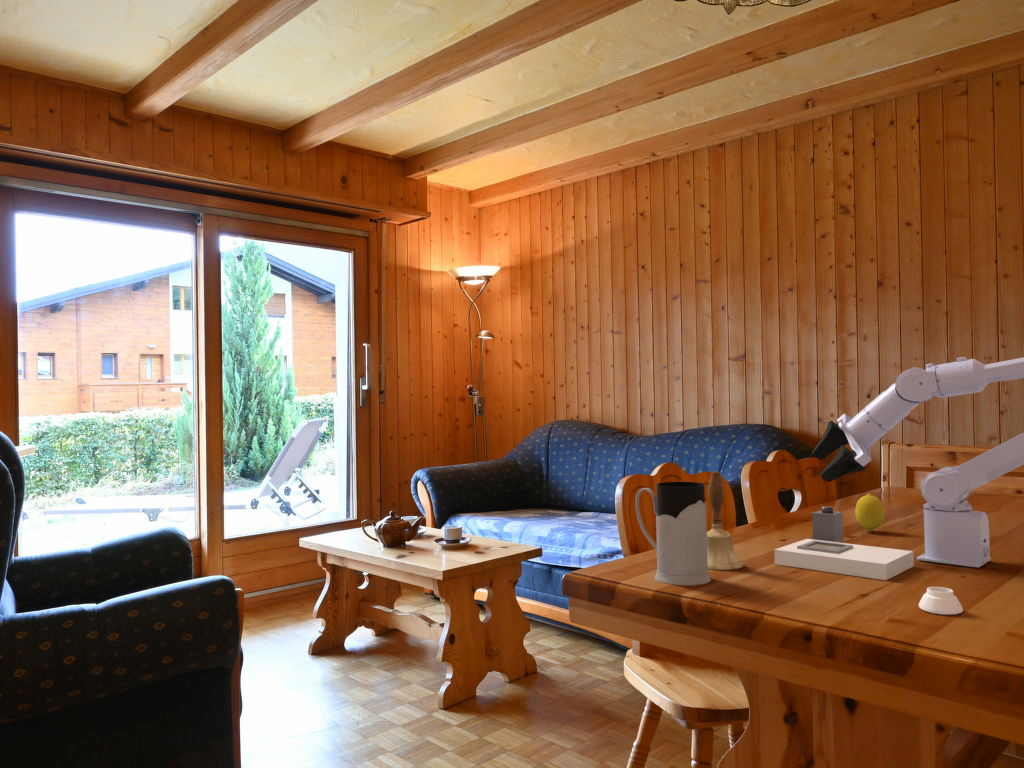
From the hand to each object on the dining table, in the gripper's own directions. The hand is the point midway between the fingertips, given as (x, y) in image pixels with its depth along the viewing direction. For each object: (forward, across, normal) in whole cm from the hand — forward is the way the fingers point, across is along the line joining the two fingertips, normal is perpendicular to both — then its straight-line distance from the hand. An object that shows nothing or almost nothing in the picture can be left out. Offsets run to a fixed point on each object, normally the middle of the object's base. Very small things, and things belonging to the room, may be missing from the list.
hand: (820, 467), depth 145 cm
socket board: (+4, +21, +4) cm, 22 cm away
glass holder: (+20, +30, -21) cm, 42 cm away
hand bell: (+17, +22, -12) cm, 31 cm away
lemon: (+8, -8, +24) cm, 27 cm away
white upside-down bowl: (-9, +45, 0) cm, 46 cm away
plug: (+9, +9, +8) cm, 15 cm away
